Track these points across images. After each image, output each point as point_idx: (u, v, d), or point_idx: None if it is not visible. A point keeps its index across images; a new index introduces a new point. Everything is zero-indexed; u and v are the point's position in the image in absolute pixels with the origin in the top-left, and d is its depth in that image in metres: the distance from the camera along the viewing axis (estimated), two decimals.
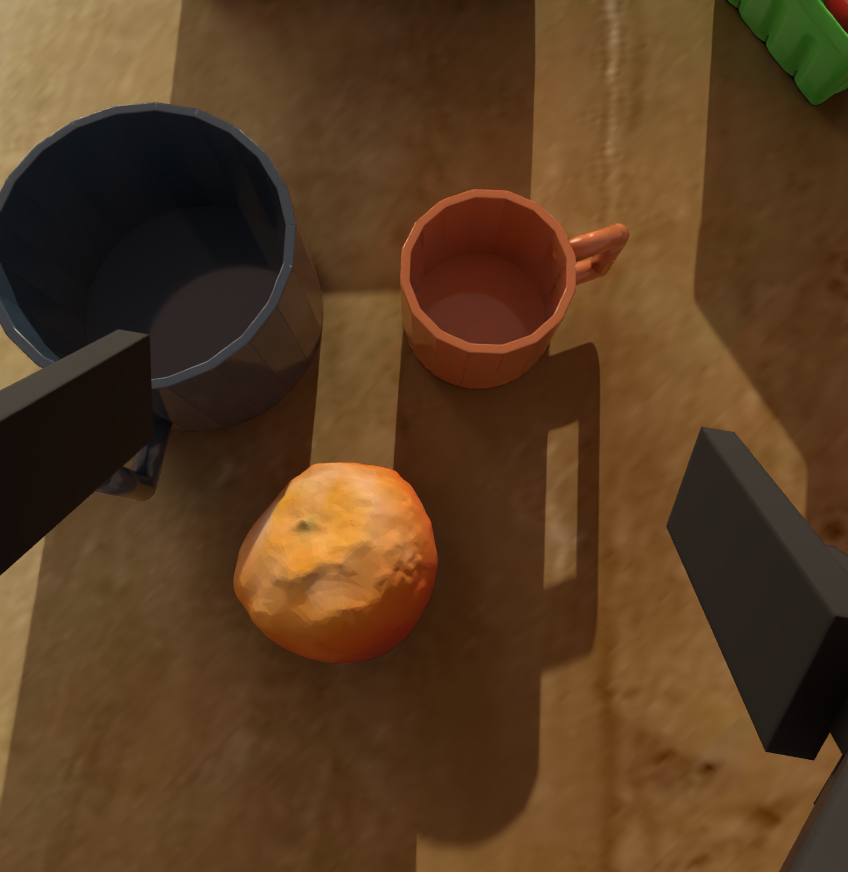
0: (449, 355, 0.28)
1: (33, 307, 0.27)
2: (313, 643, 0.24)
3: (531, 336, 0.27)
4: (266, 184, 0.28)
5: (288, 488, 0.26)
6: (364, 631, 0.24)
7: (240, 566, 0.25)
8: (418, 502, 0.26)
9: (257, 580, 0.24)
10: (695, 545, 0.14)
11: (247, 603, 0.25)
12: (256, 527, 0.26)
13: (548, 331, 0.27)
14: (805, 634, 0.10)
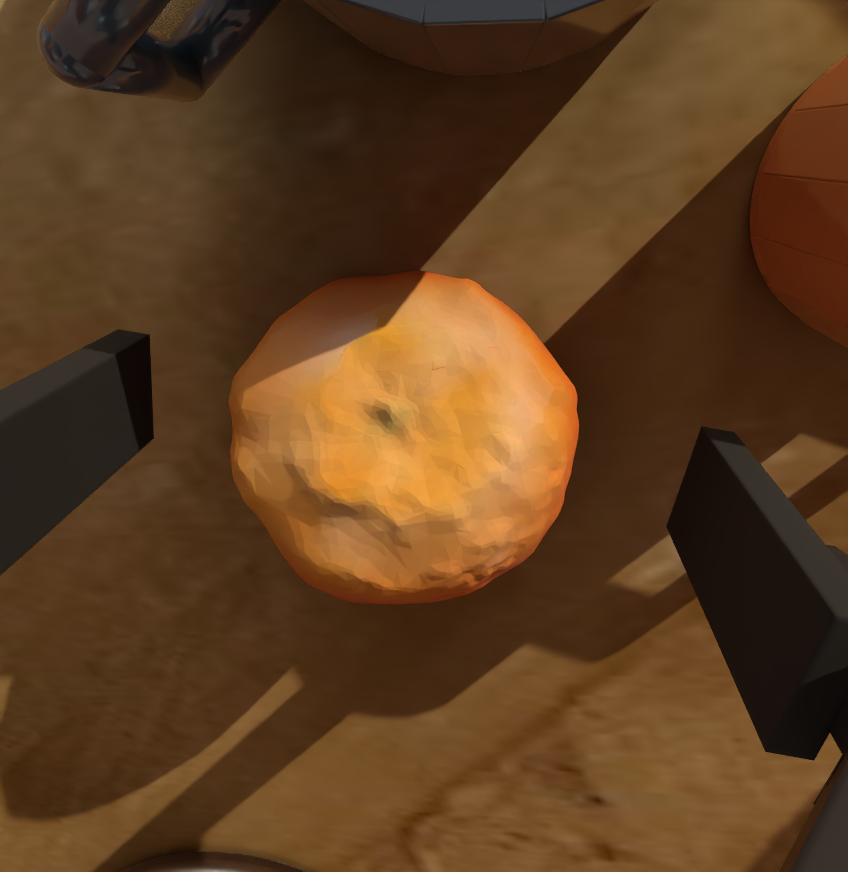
0: (829, 288, 0.13)
1: None
2: (290, 565, 0.15)
3: None
4: None
5: (404, 307, 0.14)
6: (366, 599, 0.15)
7: (256, 373, 0.14)
8: (569, 471, 0.15)
9: (266, 429, 0.14)
10: (695, 545, 0.14)
11: (235, 432, 0.15)
12: (316, 330, 0.14)
13: None
14: (805, 634, 0.10)
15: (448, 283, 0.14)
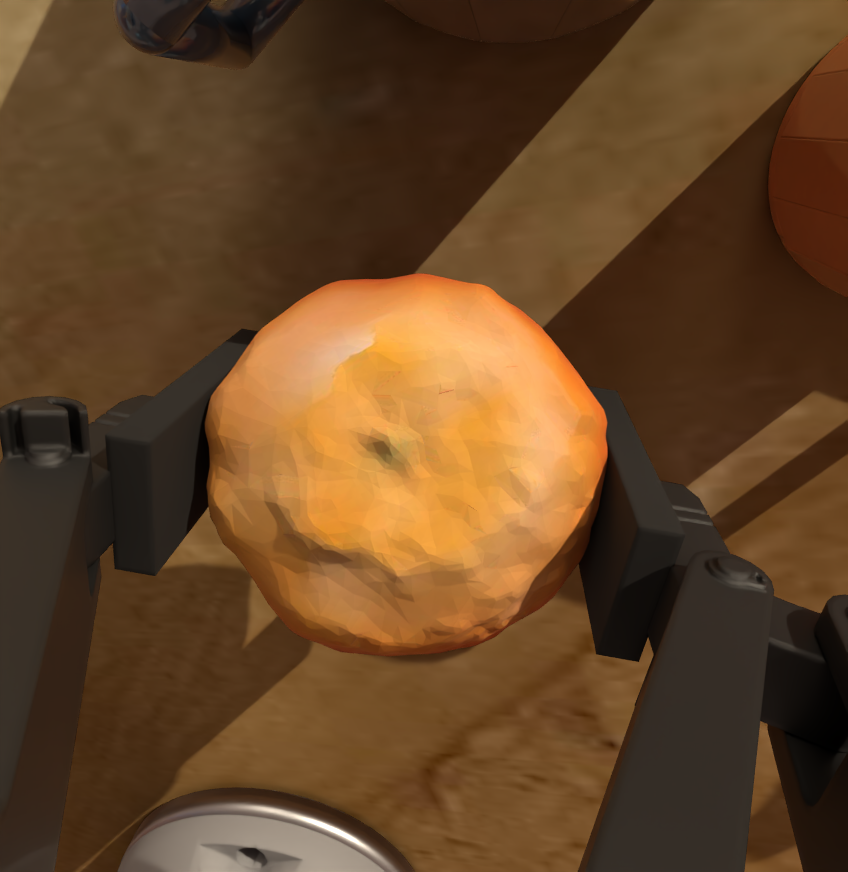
0: (841, 244, 0.14)
1: None
2: (276, 612, 0.13)
3: None
4: None
5: (407, 318, 0.12)
6: (363, 652, 0.13)
7: (235, 394, 0.12)
8: (597, 506, 0.13)
9: (245, 461, 0.12)
10: None
11: (212, 460, 0.13)
12: (304, 345, 0.12)
13: None
14: (623, 547, 0.11)
15: (458, 289, 0.12)
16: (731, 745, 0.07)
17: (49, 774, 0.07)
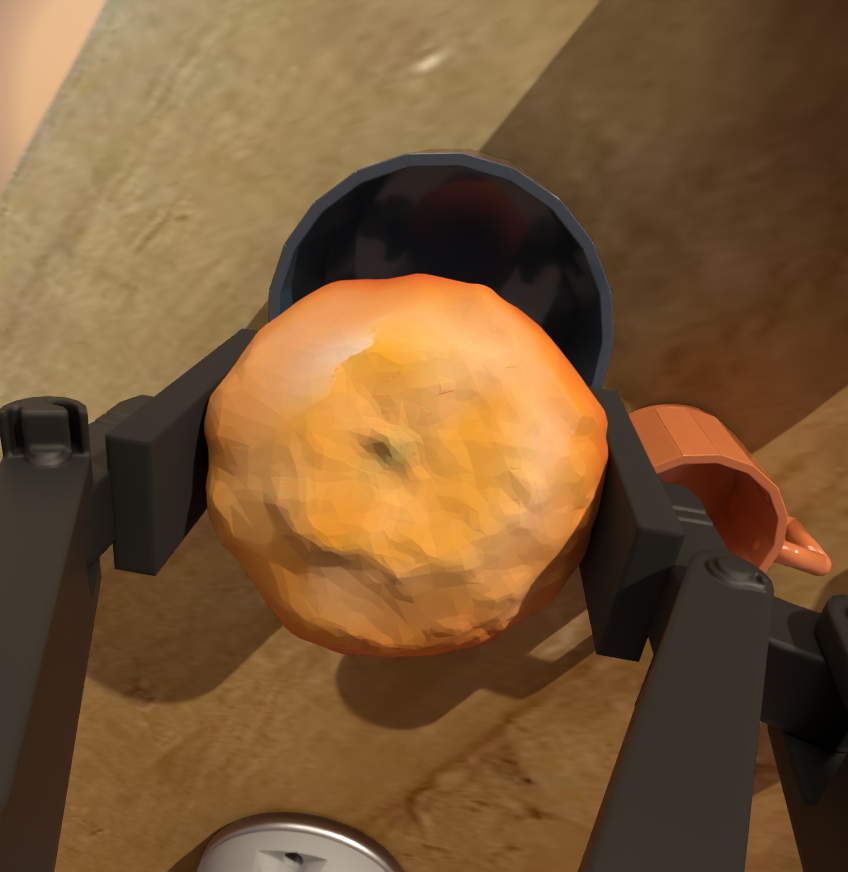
0: None
1: (303, 268, 0.25)
2: None
3: None
4: (593, 321, 0.24)
5: (406, 318, 0.12)
6: (362, 654, 0.13)
7: (234, 394, 0.12)
8: (597, 507, 0.13)
9: (245, 461, 0.12)
10: None
11: (211, 461, 0.13)
12: (303, 345, 0.12)
13: None
14: (623, 547, 0.11)
15: (458, 290, 0.12)
16: (731, 745, 0.07)
17: (49, 774, 0.07)
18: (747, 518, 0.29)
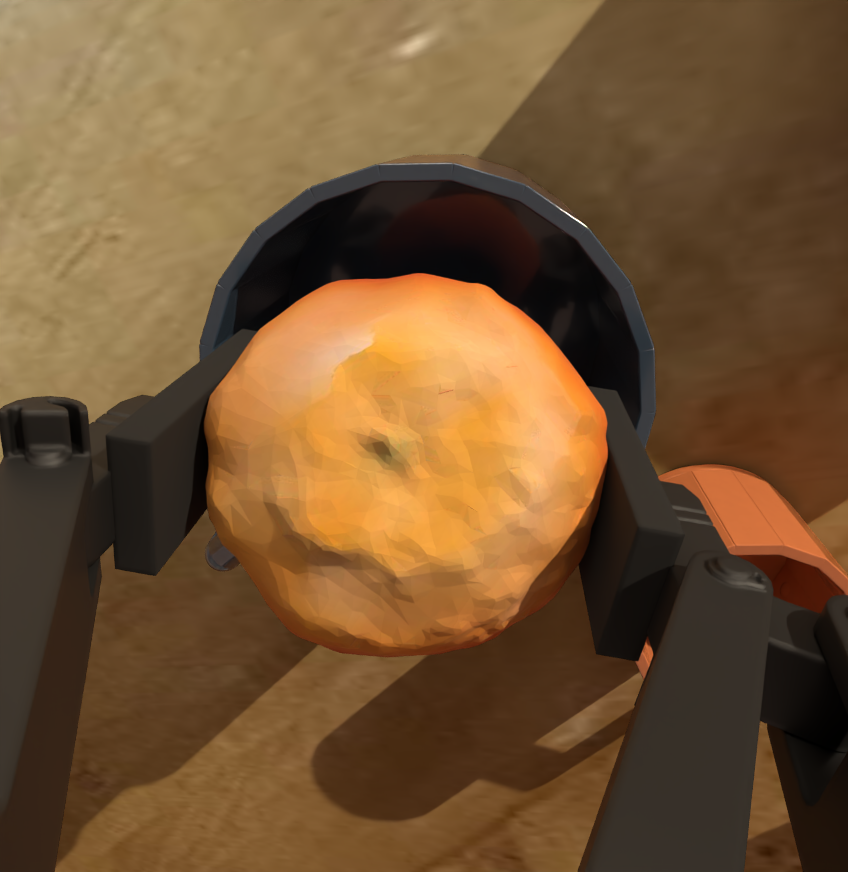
0: None
1: (250, 309, 0.19)
2: (275, 613, 0.13)
3: None
4: (625, 379, 0.18)
5: (406, 318, 0.12)
6: (362, 653, 0.13)
7: (234, 394, 0.12)
8: (597, 506, 0.13)
9: (244, 461, 0.12)
10: None
11: (211, 461, 0.13)
12: (303, 345, 0.12)
13: None
14: (623, 547, 0.11)
15: (458, 289, 0.12)
16: (731, 745, 0.07)
17: (49, 774, 0.07)
18: (806, 608, 0.24)
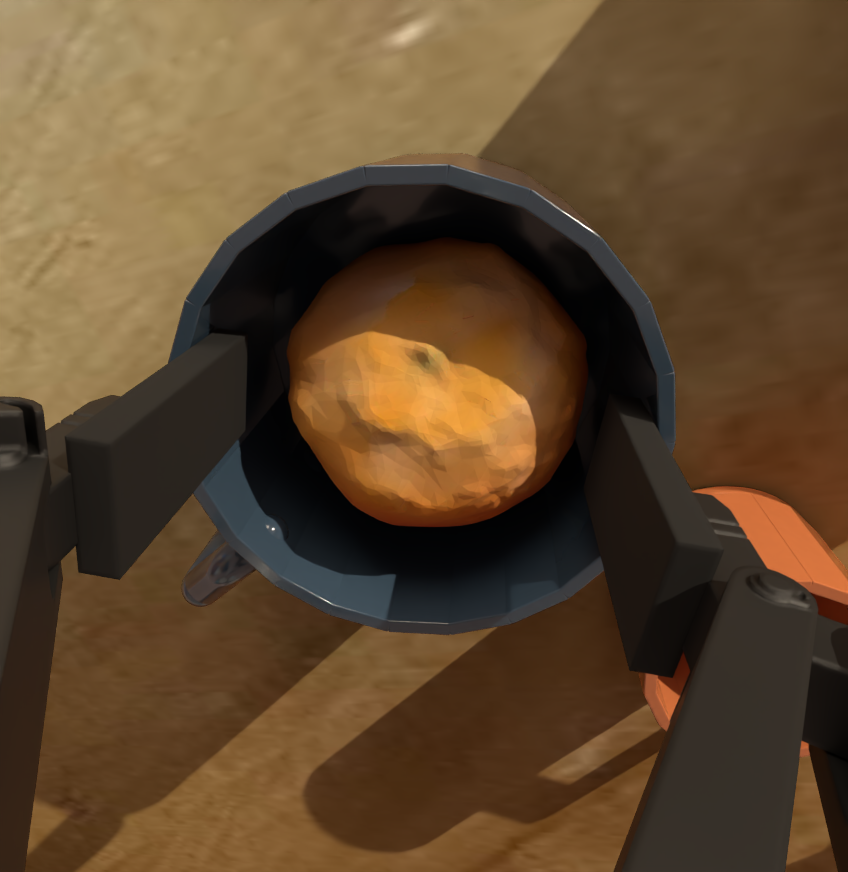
0: None
1: (228, 324, 0.17)
2: (342, 490, 0.17)
3: None
4: None
5: (437, 267, 0.16)
6: (407, 519, 0.17)
7: (312, 326, 0.17)
8: (580, 408, 0.17)
9: (322, 372, 0.16)
10: (599, 501, 0.15)
11: (294, 377, 0.17)
12: (362, 288, 0.16)
13: None
14: (658, 562, 0.11)
15: (474, 247, 0.17)
16: (770, 766, 0.07)
17: (16, 777, 0.07)
18: None
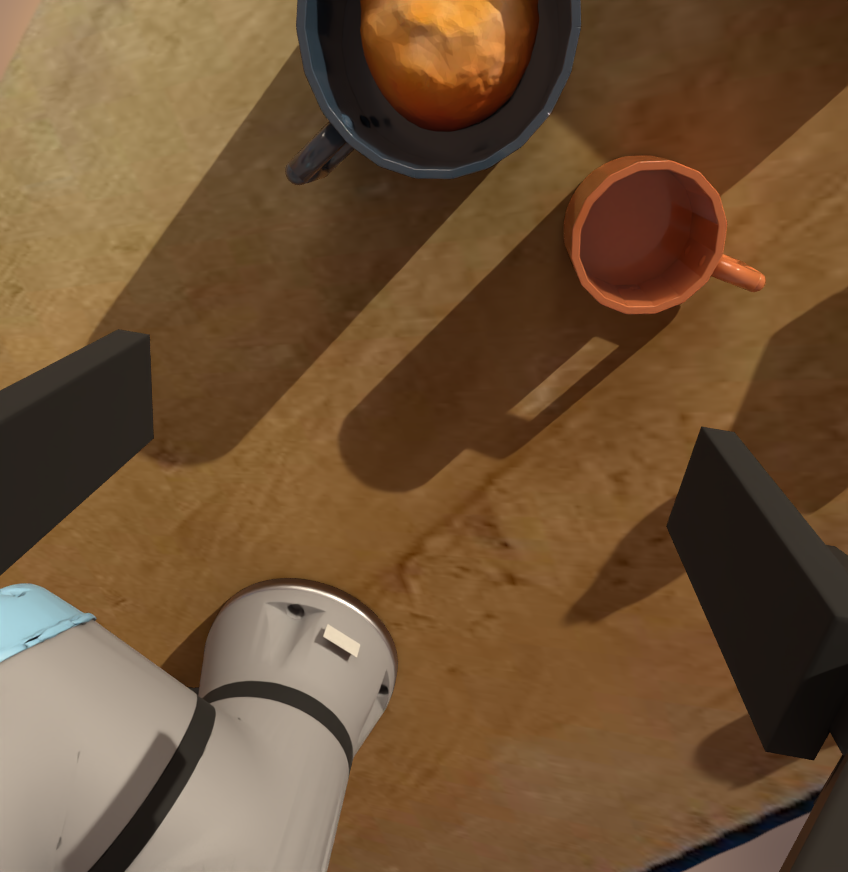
0: None
1: None
2: (390, 80, 0.29)
3: (626, 308, 0.33)
4: (567, 28, 0.29)
5: None
6: (428, 101, 0.29)
7: None
8: (533, 38, 0.29)
9: None
10: (695, 545, 0.14)
11: (365, 11, 0.29)
12: None
13: (639, 313, 0.34)
14: (805, 634, 0.10)
15: None
16: None
17: None
18: (697, 249, 0.34)
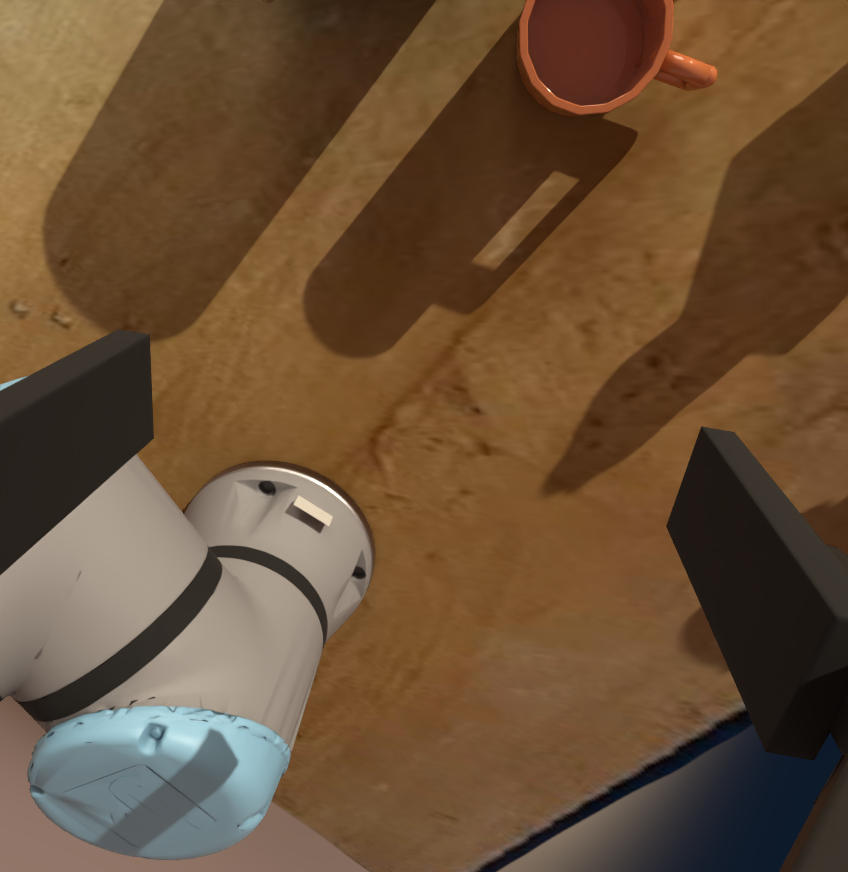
0: (524, 71, 0.34)
1: None
2: None
3: (578, 107, 0.33)
4: None
5: None
6: None
7: None
8: None
9: None
10: (695, 545, 0.14)
11: None
12: None
13: (592, 113, 0.33)
14: (805, 634, 0.10)
15: None
16: None
17: None
18: (649, 51, 0.34)
